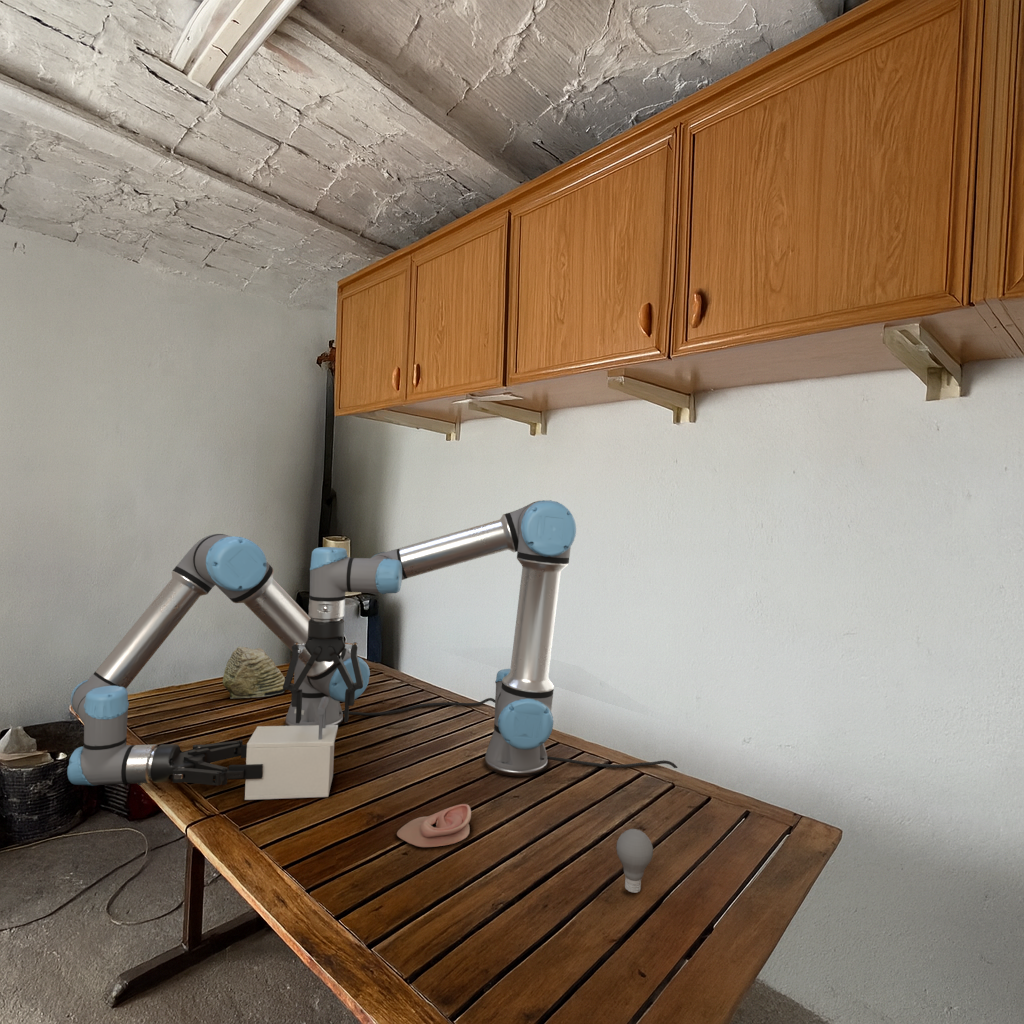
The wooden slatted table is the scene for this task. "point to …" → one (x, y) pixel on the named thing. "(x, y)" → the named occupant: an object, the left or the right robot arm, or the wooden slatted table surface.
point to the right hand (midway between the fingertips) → (322, 720)
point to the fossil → (252, 674)
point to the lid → (296, 733)
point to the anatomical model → (438, 827)
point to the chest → (290, 772)
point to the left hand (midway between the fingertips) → (267, 760)
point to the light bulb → (634, 857)
